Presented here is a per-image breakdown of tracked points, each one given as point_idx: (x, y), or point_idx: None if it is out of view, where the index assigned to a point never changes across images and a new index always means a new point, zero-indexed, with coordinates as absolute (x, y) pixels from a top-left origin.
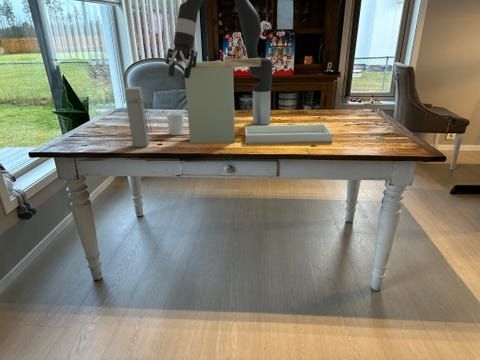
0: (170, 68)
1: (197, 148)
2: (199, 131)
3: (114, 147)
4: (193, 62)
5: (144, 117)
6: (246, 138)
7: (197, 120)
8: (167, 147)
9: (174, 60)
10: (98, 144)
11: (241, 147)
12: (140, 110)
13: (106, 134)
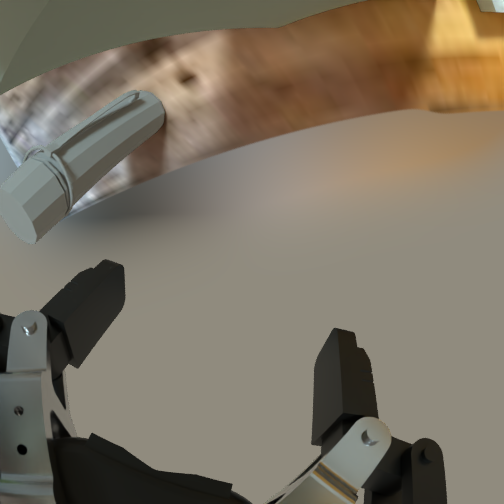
0: (89, 350)
1: (339, 72)
2: (311, 11)
3: None
4: (406, 496)
5: (108, 141)
6: (492, 11)
7: (301, 9)
8: (230, 93)
9: (69, 433)
10: None
11: (479, 46)
12: (94, 172)
13: (27, 95)
